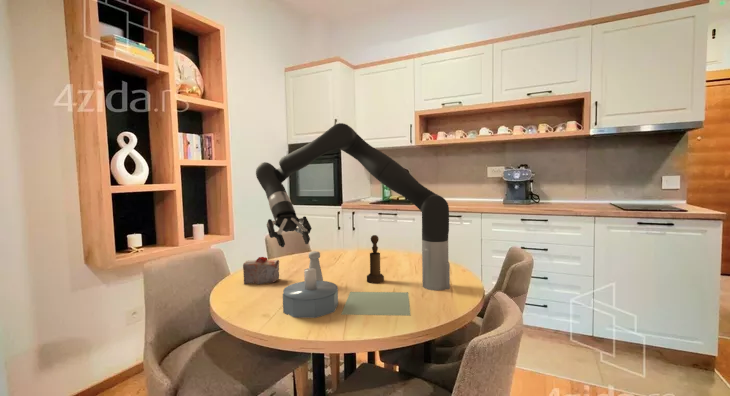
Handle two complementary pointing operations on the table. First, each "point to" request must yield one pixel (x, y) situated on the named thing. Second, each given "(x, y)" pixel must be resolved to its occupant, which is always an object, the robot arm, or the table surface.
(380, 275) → the dark brown tall piece
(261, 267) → the food item
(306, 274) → the food cover
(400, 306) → the rubber mat
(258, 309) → the table surface
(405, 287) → the table surface
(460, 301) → the table surface
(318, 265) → the salt shaker
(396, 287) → the table surface
